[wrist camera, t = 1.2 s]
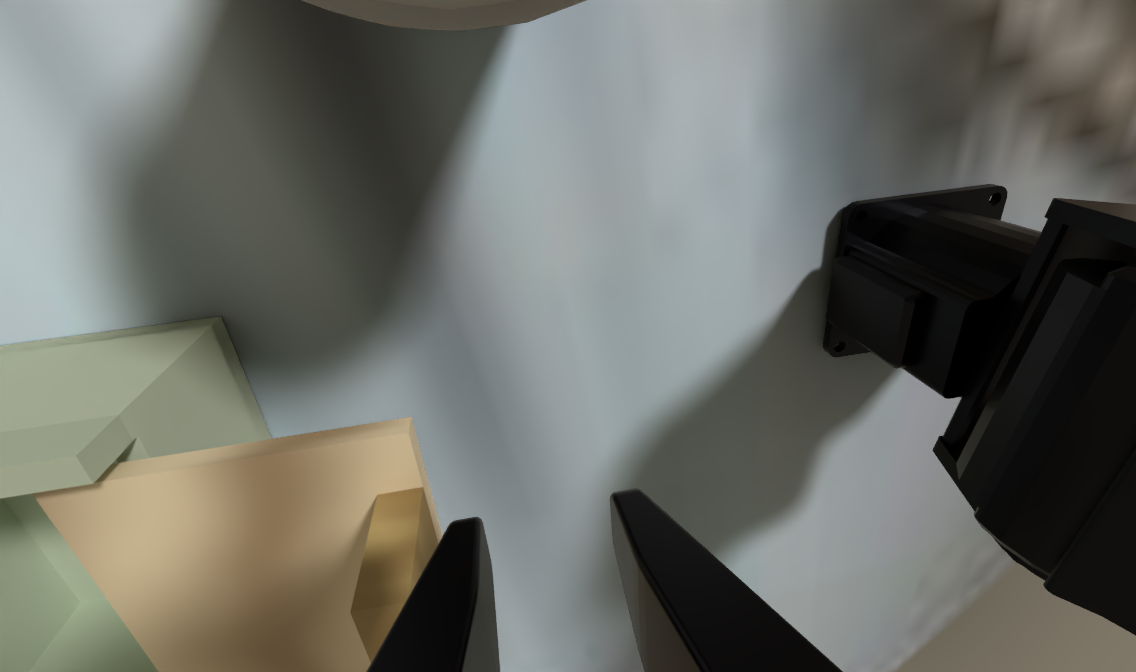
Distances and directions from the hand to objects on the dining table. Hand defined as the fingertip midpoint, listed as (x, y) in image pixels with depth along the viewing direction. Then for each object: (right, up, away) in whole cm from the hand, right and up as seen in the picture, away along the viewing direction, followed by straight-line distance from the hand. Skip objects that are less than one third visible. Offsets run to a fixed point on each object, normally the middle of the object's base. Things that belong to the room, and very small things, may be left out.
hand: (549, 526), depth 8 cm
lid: (-8, -4, +8) cm, 12 cm away
